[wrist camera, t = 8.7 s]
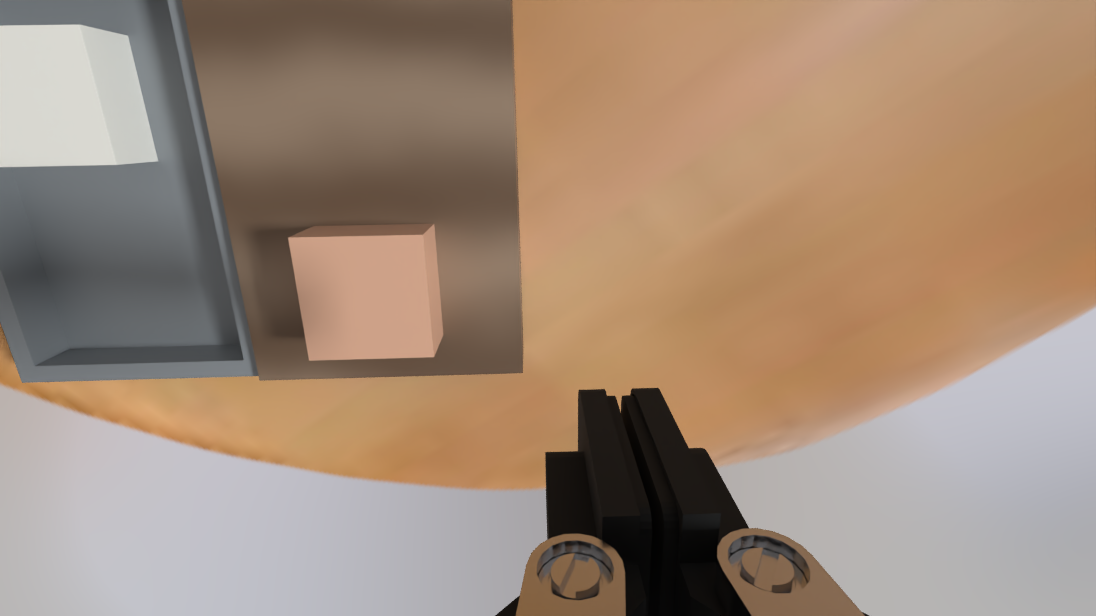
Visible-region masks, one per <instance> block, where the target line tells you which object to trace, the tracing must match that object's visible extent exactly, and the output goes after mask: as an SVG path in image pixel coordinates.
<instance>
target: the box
mask: <svg viewBox="0 0 1096 616" xmlns="http://www.w3.org/2000/svg"><path fill="white" fill-rule="evenodd" d="M79 24H80V25H84V26H88V27H93V28H97V29H101V30H105V31H110V32H114V33H118V34H123V35H127V36H128V38H129V42H130V46H131V51H132V55H133V59H134V63H135V67H136V71H137V75H138V80H139V84H140V88H141V92H142V96H143V100H144V104H145V109H146V113H147V117H148V121H149V125H150V129H151V134H152V138H153V142H154V146H155V150H156V154H157V158H158V161H156V162H144V163H133V164H121V165H86V166H38V167H0V323H1V326H2V328H3V331H4V334H5V337H6V339H7V342H8V345H9V348H10V351H11V353H12V356H13V359H14V362H15V364H16V367H17V370H18V373H19V375H20V378H21V381H22V383H25V382H60V381H96V380H131V379H167V378H202V377H237V376H259V375H258V370H257V365H256V360H255V355H254V350H253V346H252V341H251V336H250V331H249V326H248V321H247V316H246V312H245V307H244V302H243V297H242V292H241V287H240V282H239V277H238V273H237V268H236V263H235V258H234V253H233V248H232V243H231V239H230V234H229V229H228V224H227V219H226V214H225V209H224V204H223V200H222V195H221V190H220V185H219V180H218V175H217V170H216V166H215V161H214V156H213V151H212V146H211V141H210V136H209V131H208V127H207V122H206V117H205V112H204V107H203V102H202V97H201V93H200V88H199V83H198V78H197V73H196V68H195V63H194V58H193V54H192V49H191V44H190V39H189V34H188V29H187V24H186V19H185V15H184V10H183V5H182V0H0V26H6V25H79Z"/></svg>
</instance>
